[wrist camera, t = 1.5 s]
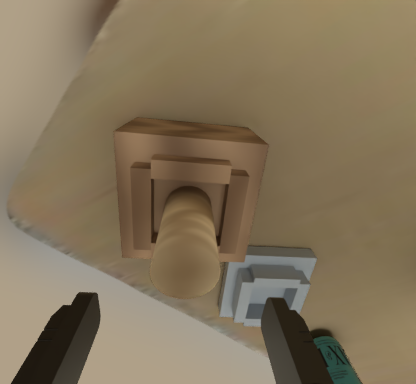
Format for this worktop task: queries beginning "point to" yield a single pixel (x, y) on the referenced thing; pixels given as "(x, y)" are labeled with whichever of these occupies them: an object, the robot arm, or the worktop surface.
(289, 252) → the slate dock
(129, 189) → the walnut dock
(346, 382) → the beverage bottle
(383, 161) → the worktop surface
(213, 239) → the birch peg
